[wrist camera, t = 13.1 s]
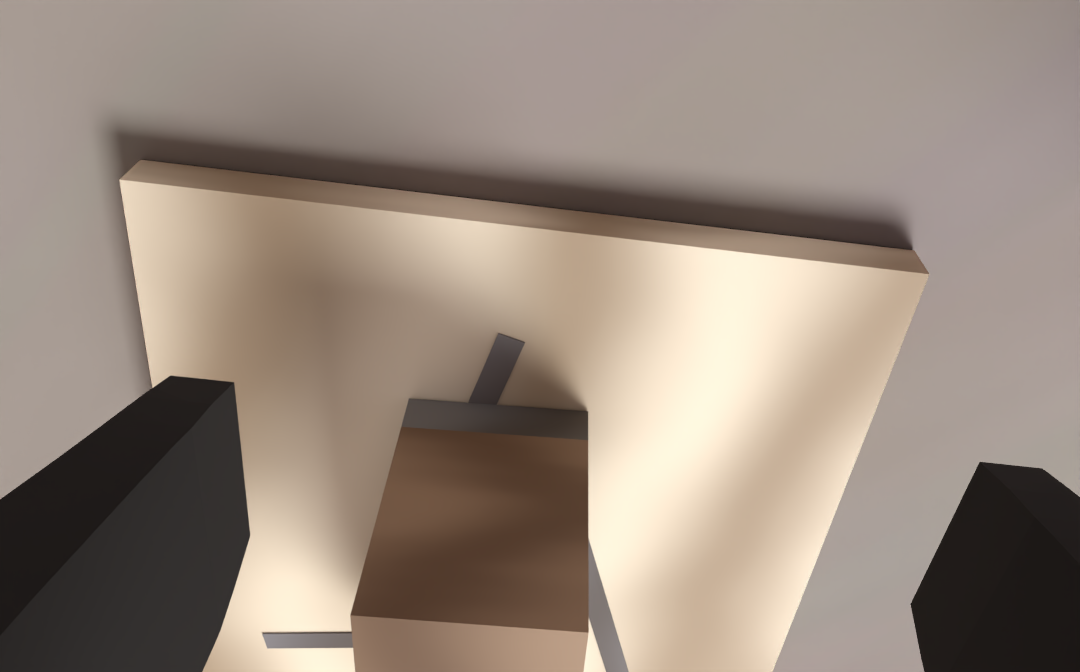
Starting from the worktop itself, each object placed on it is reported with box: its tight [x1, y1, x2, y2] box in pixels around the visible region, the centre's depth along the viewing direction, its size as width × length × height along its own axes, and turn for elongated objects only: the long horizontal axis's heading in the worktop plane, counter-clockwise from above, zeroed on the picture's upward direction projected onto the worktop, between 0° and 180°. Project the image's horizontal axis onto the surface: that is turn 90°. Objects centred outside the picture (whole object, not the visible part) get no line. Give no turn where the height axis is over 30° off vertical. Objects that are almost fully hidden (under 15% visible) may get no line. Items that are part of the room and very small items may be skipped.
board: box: [119, 160, 929, 672], centre depth 23 cm, size 16×18×1 cm
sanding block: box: [350, 398, 589, 672], centre depth 20 cm, size 4×8×6 cm, turn 177°
